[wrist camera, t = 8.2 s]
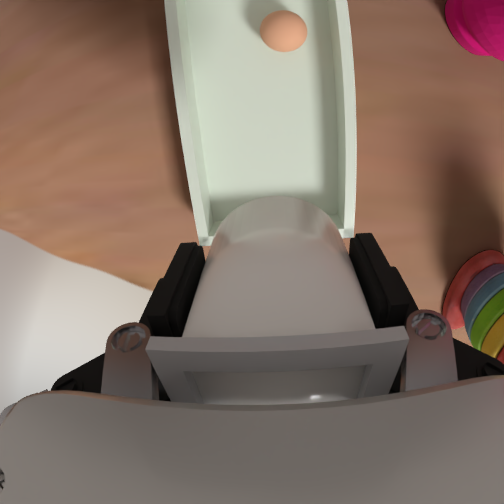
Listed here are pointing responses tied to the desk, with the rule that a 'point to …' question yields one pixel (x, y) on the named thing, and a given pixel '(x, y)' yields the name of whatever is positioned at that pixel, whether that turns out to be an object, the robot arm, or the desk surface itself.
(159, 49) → the desk surface
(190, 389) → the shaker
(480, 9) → the pepper mill
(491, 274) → the stacking bear
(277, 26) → the ball
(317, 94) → the tray
